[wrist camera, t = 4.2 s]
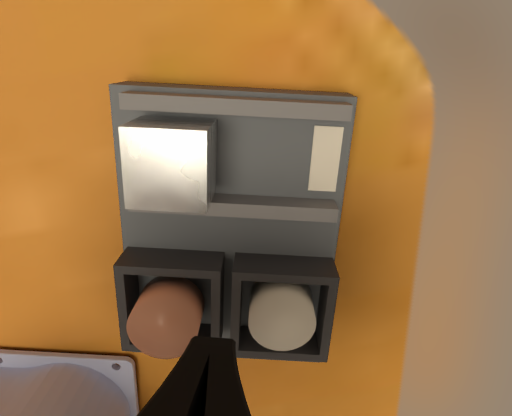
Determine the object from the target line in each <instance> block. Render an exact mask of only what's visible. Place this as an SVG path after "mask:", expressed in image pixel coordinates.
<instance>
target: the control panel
mask: <svg viewBox="0 0 512 416" xmlns="http://www.w3.org/2000/svg"><path fill="white" fill-rule="evenodd" d="M109 91H110V102H111V114H112V125H113V136H114V148H115V159H116V170H117V182H118V193H119V204H120V216H121V227H122V238H123V250H124V252H123V253H122V255H121V256H120V257H119V259H118V260H117V261H116V263H115V264H114V265H113V268H114V278H115V288H116V298H117V308H118V318H119V327H120V337H121V347H122V351H132V352H141V351H140V350H138V349H137V348H136V347H135V346H134V345H133V343H132V342H131V341H130V339H129V337H128V334H127V329H126V324H127V320H128V317H129V315H130V313H131V311H132V310H133V308H134V306H135V304H136V302H137V300H138V298H139V296H140V294H141V293H142V291H143V289H144V287H145V286H146V284H147V283H148V282H150V281H151V280H152V279H154V278H156V277H159V276H163V277H181V278H186V279H188V280H190V281H191V282H193V283H194V284H195V285H196V286H197V287H198V288H199V290H200V291H201V293H202V295H203V297H204V303H205V306H204V311H203V315H202V319H201V324H200V328H199V332H198V336H202V337H216V338H230V339H233V340H234V341H235V342H236V358H252V359H270V360H288V361H306V362H327V360H328V353H329V346H330V339H331V333H332V326H333V319H334V313H335V306H336V299H337V292H338V286H339V279H340V278H339V275H338V272H337V269H336V266H335V263H334V261H335V254H336V246H337V239H338V232H339V225H340V218H341V211H342V204H343V197H344V189H345V182H346V175H347V168H348V161H349V154H350V147H351V140H352V132H353V125H354V118H355V111H356V104H357V97H356V96H353V95H351V94H349V93H339V92H320V91H301V90H281V89H262V88H243V87H224V86H205V85H186V84H167V83H148V82H129V81H125V82H119V83H113V84H109ZM142 115H154V116H173V117H192V118H210V119H217V154H216V191H215V193H214V196H213V199H212V201H211V204H210V206H209V209H208V212H207V213H188V212H170V211H151V210H133V209H125V203H124V191H123V179H122V167H121V154H120V142H119V130H118V126H120V125H122V124H125V123H127V122H129V121H131V120H133V119H135V118H138V117H140V116H142ZM255 282H272V283H290V284H308V286H309V288H310V291H311V296H312V301H313V306H314V311H315V317H316V329H315V332H314V334H313V336H312V337H311V339H310V340H309V341H308V342H307V343H305V344H304V345H302V346H301V347H299V348H296V349H293V350H289V351H275V350H271V349H268V348H266V347H263V346H262V345H260V344H259V343H258V342H257V341H256V340H255V339H254V338H253V337H252V335H251V333H250V331H249V327H248V319H249V304H250V292H251V289H252V287H253V285H254V284H255Z"/></svg>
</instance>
